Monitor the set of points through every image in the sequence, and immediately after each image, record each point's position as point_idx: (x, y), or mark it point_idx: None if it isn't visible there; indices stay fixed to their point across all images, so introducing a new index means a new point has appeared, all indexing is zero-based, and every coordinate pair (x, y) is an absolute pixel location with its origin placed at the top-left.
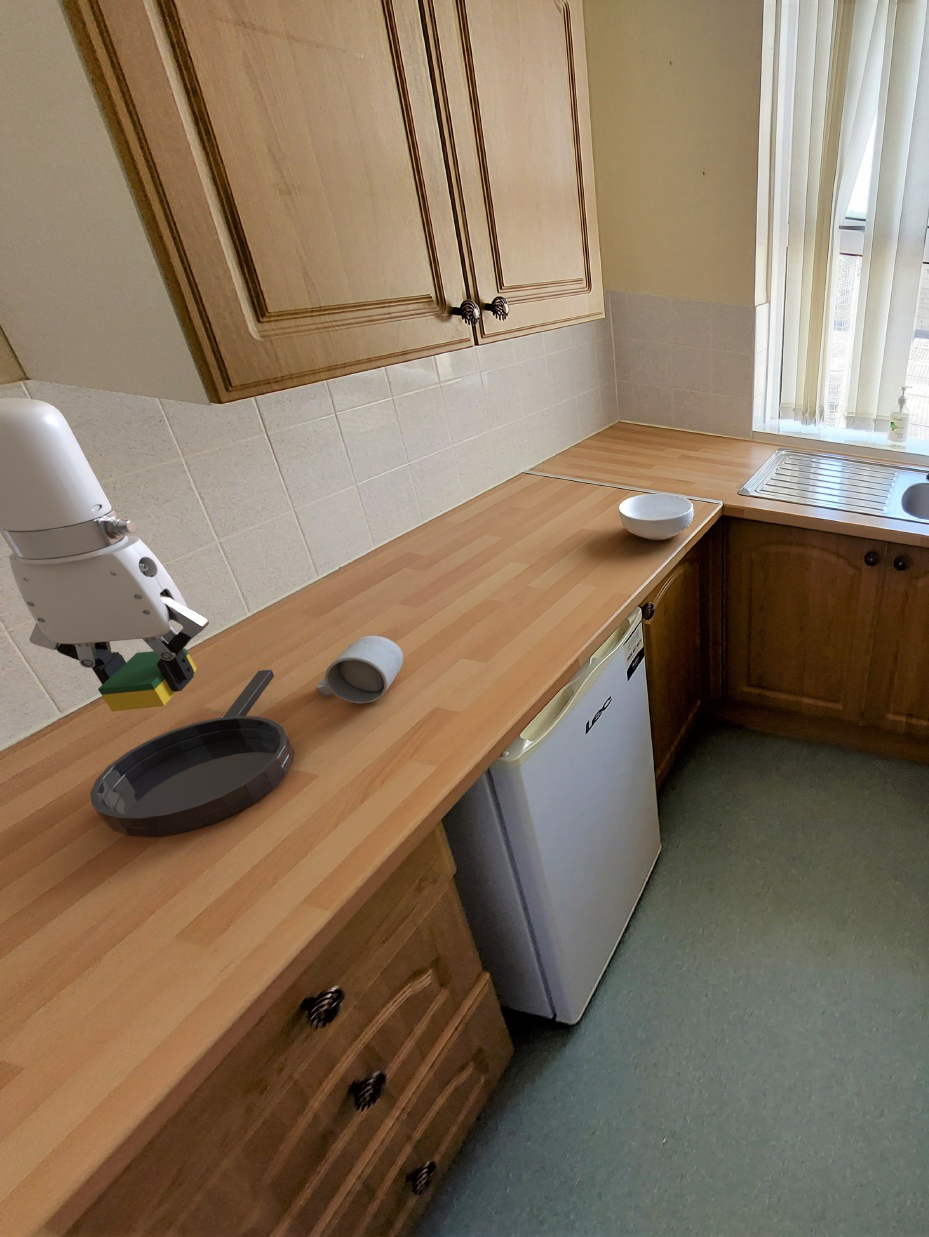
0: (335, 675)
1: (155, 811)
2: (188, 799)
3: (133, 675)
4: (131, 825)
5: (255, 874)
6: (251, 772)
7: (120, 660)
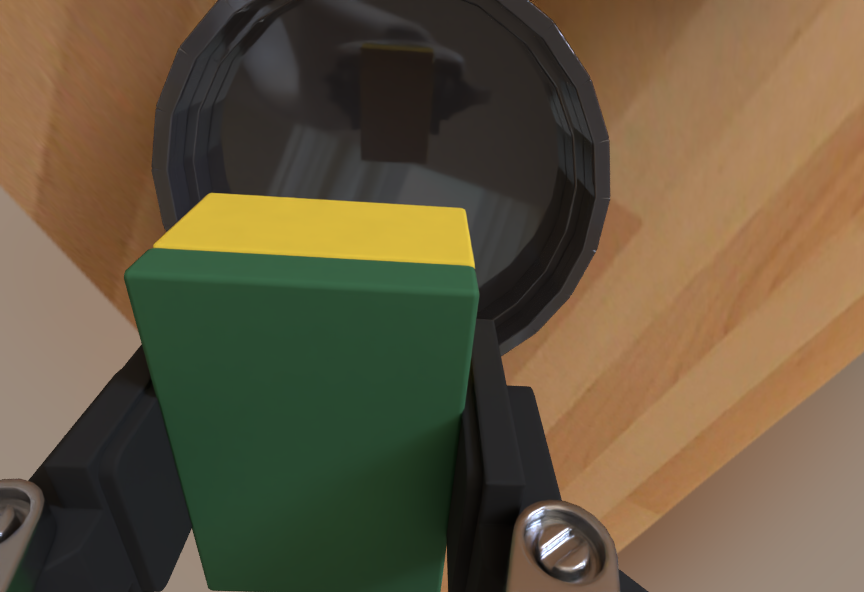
0: None
1: None
2: None
3: (308, 531)
4: None
5: (556, 443)
6: (494, 187)
7: (143, 456)
